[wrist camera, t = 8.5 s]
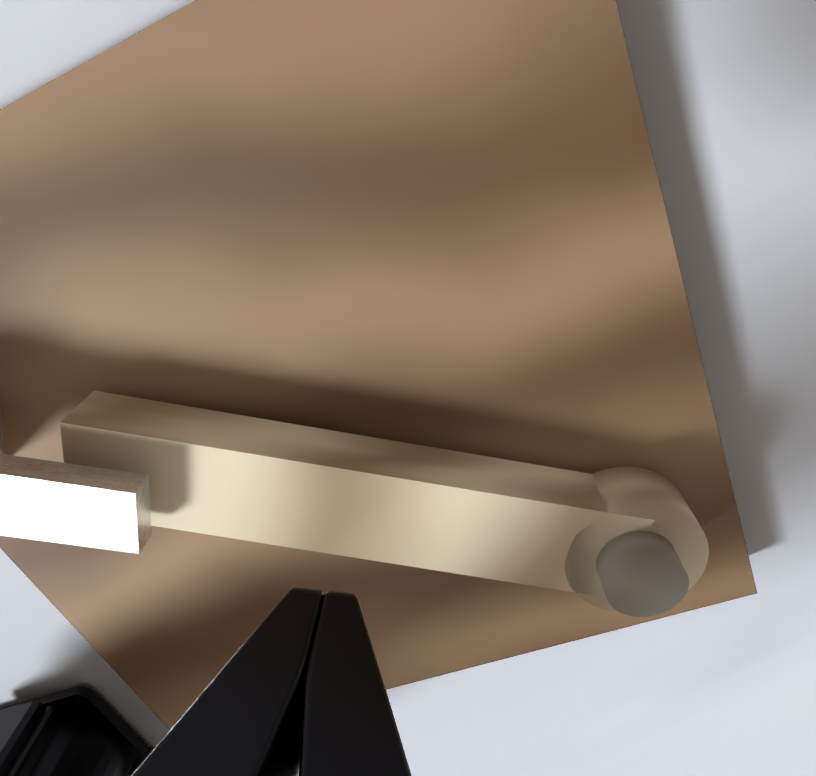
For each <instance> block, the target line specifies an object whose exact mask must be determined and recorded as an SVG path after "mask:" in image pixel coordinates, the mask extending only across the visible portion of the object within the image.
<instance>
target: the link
mask: <svg viewBox="0 0 816 776" xmlns="http://www.w3.org/2000/svg"><path fill="white" fill-rule="evenodd" d="M60 429H61V439H62V449H63V459H64V463H69V464H76V465H83V466H90V467H97V468H105V469H112V470H119V471H126V472H133V473H140V474H147V475H149V492H150V510H151V526H157V527H163V528H170V529H176V530H182V531H189V532H195V533H201V534H208V535H214V536H220V537H227V538H233V539H239V540H246V541H252V542H258V543H265V544H271V545H277V546H284V547H290V548H296V549H303V550H309V551H316V552H322V553H328V554H335V555H341V556H347V557H354V558H360V559H366V560H373V561H379V562H385V563H392V564H398V565H404V566H411V567H417V568H423V569H430V570H436V571H442V572H449V573H455V574H461V575H468V576H474V577H481V578H487V579H493V580H500V581H506V582H512V583H519V584H525V585H531V586H538V587H544V588H550V589H557V590H563V591H569V592H575V593H576V594H577V595H578V596H579V597H580V598H581V599H583V600H584V601H586V602H588V603H589V604H591V605H593V606H596V607H598V608H601V609H605V610H609V611H615V612H620V613H622V614H625V615H628V616H634V617H649V616H655V615H658V614H661V613H664V612H666V611H668V610H670V609H672V608H673V607H675V606H676V605H677V604H678V603H679V602H681V600H682V599H683V598H684V597H685V595H686V593H687V591H688V590H689V589H690V588H692V587H693V586H694V585H695V583H696V582H697V581H698V580H699V578H700V577H701V575H702V574H703V572H704V570H705V568H706V565H707V561H708V557H709V546H708V541H707V538H706V535H705V533H704V531H703V530H702V528H701V526H700V525H699V523H698V521H697V520H696V518H695V516H694V515H693V513H692V511H691V510H690V508H689V506H688V505H687V503H686V501H685V500H684V498H683V496H682V495H681V493H680V491H679V490H678V489H677V487H676V486H675V485H674V484H673V483H672V482H671V481H670V480H669V479H667V478H666V477H665V476H663V475H661V474H659V473H657V472H655V471H652V470H649V469H645V468H641V467H614V468H609V469H605V470H601V471H598V472H596V473H593V474H589V473H583V472H577V471H571V470H565V469H559V468H553V467H547V466H541V465H535V464H530V463H524V462H518V461H512V460H506V459H500V458H494V457H488V456H482V455H476V454H470V453H464V452H458V451H452V450H446V449H440V448H434V447H428V446H422V445H416V444H410V443H404V442H398V441H392V440H386V439H380V438H374V437H368V436H362V435H356V434H351V433H345V432H339V431H333V430H327V429H321V428H315V427H309V426H303V425H297V424H291V423H285V422H279V421H273V420H267V419H261V418H255V417H249V416H243V415H237V414H231V413H225V412H219V411H213V410H207V409H201V408H195V407H189V406H183V405H177V404H172V403H166V402H160V401H154V400H148V399H142V398H136V397H130V396H124V395H118V394H112V393H106V392H100V391H93V392H92V393H91V394H90V395H89V396H88V397H87V398H85V399H84V400H83V401H82V402H81V403H80V404H79V405H78V406H77V407H76V408H75V409H74V410H73V411H71V412H70V413H69V414H68V415H67V416H66V417H65V418H64V419H63V420H62V421H61V422H60Z"/></svg>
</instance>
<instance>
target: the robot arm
mask: <svg viewBox="0 0 816 776" xmlns="http://www.w3.org/2000/svg"><path fill="white" fill-rule="evenodd" d="M298 773H299V776H411V772H410V769H409V766H408V762H407V759H406V756H405V752H404V749H403V746H402V742H401V739H400V736H399V732H398V729H397V726H396V722H395V719H394V716H393V712H392V709H391V706H390V702H389V699H388V696H387V692H386V689H385V686H384V683H383V679H382V676H381V673H380V669H379V666H378V663H377V659H376V656H375V653H374V649H373V646H372V643H371V639H370V636H369V633H368V629H367V626H366V623H365V619H364V616H363V613H362V609H361V606H360V603H359V599H358V597H357V596H356V595H355V594H354V593H349V592H340V591H327V592H326V593H325V594H323V592H322V591H321V590H320V589H313V588H304V587H294V588H291V589H290V590H289V591H288V592H287V593H286V594H285V596H284V597H283V598H282V599H281V600H280V601H279V603H278V604H277V605H276V606H275V607H274V609H273V610H272V611H271V612H270V613H269V614H268V616H267V617H266V618H265V619H264V620H263V621H262V623H261V624H260V625H259V626H258V627H257V628H256V630H255V631H254V632H253V633H252V634H251V635H250V637H249V638H248V639H247V640H246V641H245V642H244V644H243V645H242V646H241V647H240V648H239V649H238V651H237V652H236V653H235V654H234V655H233V657H232V658H231V659H230V660H229V661H228V662H227V664H226V665H225V666H224V667H223V668H222V669H221V671H220V672H219V673H218V674H217V675H216V676H215V678H214V679H213V680H212V681H211V682H210V683H209V685H208V686H207V687H206V688H205V689H204V690H203V692H202V693H201V694H200V695H199V696H198V697H197V699H196V700H195V701H194V702H193V703H192V705H191V706H190V707H189V708H188V709H187V710H186V712H185V713H184V714H183V715H182V716H181V717H180V719H179V720H178V721H177V722H176V723H175V724H174V726H173V727H172V728H171V729H170V730H169V731H168V733H167V734H166V735H165V736H164V737H163V738H162V740H161V741H160V742H159V743H158V744H157V745H156V747H155V748H154V749H153V750H152V751H151V750H150V749H149V747H148V746H147V745H146V744H145V743H144V742H143V741H142V740H141V739H140V738H139V737H138V736H137V735H136V734H135V733H134V732H133V731H132V730H131V729H130V728H129V727H128V726H127V725H126V724H125V723H124V722H123V721H122V720H121V719H120V718H119V717H118V716H117V715H116V714H115V713H114V712H113V711H112V710H111V709H110V708H109V707H108V706H107V705H106V703H105V702H104V701H103V700H102V699H101V698H100V697H99V696H98V695H97V694H96V693H95V692H94V691H92V690H91V689H89V688H87V687H82V686H80V687H75V688H72V689H68V690H65V691H62V692H58V693H55V694H51V695H48V696H45V697H41V698H38V699H34V700H31V701H28V702H24V703H21V704H17V705H14V706H11V707H7V708H4V709H0V776H298Z"/></svg>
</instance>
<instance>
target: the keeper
mask: <svg viewBox="0 0 816 776" xmlns="http://www.w3.org/2000/svg"><path fill="white" fill-rule="evenodd" d="M151 534H152V528H151V510H150V492H149V475H147V474H140V473H133V472H126V471H119V470H112V469H105V468H97V467H90V466H83V465H76V464H69V463H62V462H55V461H48V460H41V459H34V458H27V457H20V456H13V455H8V451H7V445H6V440H5V434H4V428H3V423H2V417H1V412H0V535H4V536H11V537H18V538H25V539H33V540H40V541H47V542H55V543H62V544H69V545H76V546H84V547H91V548H98V549H106V550H113V551H120V552H127V553H135V554H140V552H141V551H142V549H143V547H144V546H145V544H146V543H147V541H148V539H149V538H150V536H151Z"/></svg>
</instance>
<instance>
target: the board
mask: <svg viewBox="0 0 816 776" xmlns="http://www.w3.org/2000/svg"><path fill="white" fill-rule="evenodd" d="M93 391H100V392H106V393H112V394H118V395H124V396H130V397H136V398H142V399H148V400H154V401H160V402H166V403H172V404H177V405H183V406H189V407H195V408H201V409H207V410H213V411H219V412H225V413H231V414H237V415H243V416H249V417H255V418H261V419H267V420H273V421H279V422H285V423H291V424H297V425H303V426H309V427H315V428H321V429H327V430H333V431H339V432H345V433H351V434H356V435H362V436H368V437H374V438H380V439H386V440H392V441H398V442H404V443H410V444H416V445H422V446H428V447H434V448H440V449H446V450H452V451H458V452H464V453H470V454H476V455H482V456H488V457H494V458H500V459H506V460H512V461H518V462H524V463H530V464H535V465H541V466H547V467H553V468H559V469H565V470H571V471H577V472H583V473H589V474H593V473H596V472H598V471H601V470H605V469H609V468H614V467H641V468H645V469H649V470H652V471H655V472H657V473H659V474H661V475H663V476H665V477H666V478H667V479H669V480H670V481H671V482H672V483H673V484H674V485H675V486H676V487H677V489H678V490H679V491H680V493H681V495H682V496H683V498H684V500H685V501H686V503H687V505H688V506H689V508H690V510H691V511H692V513H693V515H694V516H695V518H696V520H697V521H698V523H699V525H700V526H701V528H702V530H703V531H704V533H705V535H706V538H707V541H708V546H709V557H708V561H707V565H706V568H705V570H704V572H703V574H702V575H701V577H700V578H699V580H698V581H697V582H696V583H695V585H694V586H693V587H692V588H690V589H689V590H688V591H687V593H686V595H685V597H684V598H683V599H682V600H681V602H679V603H678V604H677V605H676V606H675V607H673V608H672V609H670V610H668V611H666V612H664V613H661V614H658V615H655V616H649V617H634V616H628V615H625V614H622V613H620V612H615V611H609V610H605V609H601V608H598V607H596V606H593V605H591V604H589V603H588V602H586V601H584V600H583V599H581V598H580V597H579V596H578V595H577V594H576V593H575V592H569V591H563V590H557V589H550V588H544V587H538V586H531V585H525V584H519V583H512V582H506V581H500V580H493V579H487V578H481V577H474V576H468V575H461V574H455V573H449V572H442V571H436V570H430V569H423V568H417V567H411V566H404V565H398V564H392V563H385V562H379V561H373V560H366V559H360V558H354V557H347V556H341V555H335V554H328V553H322V552H316V551H309V550H303V549H296V548H290V547H284V546H277V545H271V544H265V543H258V542H252V541H246V540H239V539H233V538H227V537H220V536H214V535H208V534H201V533H195V532H189V531H182V530H176V529H170V528H163V527H157V526H151V528H152V534H151V536H150V538H149V539H148V541H147V543H146V544H145V546H144V547H143V549H142V551H141V552H140V554H135V553H127V552H120V551H113V550H106V549H98V548H91V547H84V546H76V545H69V544H62V543H55V542H47V541H40V540H33V539H25V538H18V537H11V536H4V535H0V548H1V549H2V550H3V551H4V552H5V553H6V555H7V556H8V557H9V558H10V559H11V560H12V561H13V562H14V563H15V564H16V565H17V566H18V567H19V568H20V570H21V571H22V572H23V573H24V574H25V575H26V576H27V577H28V578H29V579H30V580H31V581H32V582H33V583H34V584H35V586H36V587H37V588H38V589H39V590H40V591H41V592H42V593H43V594H44V595H45V596H46V597H47V598H48V599H49V601H50V602H51V603H52V604H53V605H54V606H55V607H56V608H57V609H58V610H59V611H60V612H61V613H62V614H63V616H64V617H65V618H66V619H67V620H68V621H69V622H70V623H71V624H72V625H73V626H74V627H75V628H76V629H77V631H78V632H79V633H80V634H81V635H82V636H83V637H84V638H85V639H86V640H87V641H88V642H89V643H90V644H91V646H92V647H93V648H94V649H95V650H96V651H97V652H98V653H99V654H100V655H101V656H102V657H103V658H104V659H105V661H106V662H107V663H108V664H109V665H110V666H111V667H112V668H113V669H114V670H115V671H116V672H117V673H118V674H119V676H120V677H121V678H122V679H123V680H124V681H125V682H126V683H127V684H128V685H129V686H130V687H131V688H132V689H133V691H134V692H135V693H136V694H137V695H138V696H139V697H140V698H141V699H142V700H143V701H144V702H145V703H146V704H147V706H148V707H149V708H150V709H151V710H152V711H153V712H154V713H155V714H156V715H157V716H158V717H159V718H160V719H161V721H162V722H163V723H164V724H165V725H166V726H167V727H168V728H169V729H171V728H172V727H173V726H174V724H175V723H176V722H177V721H178V720H179V719H180V717H181V716H182V715H183V714H184V713H185V712H186V710H187V709H188V708H189V707H190V706H191V705H192V703H193V702H194V701H195V700H196V699H197V697H198V696H199V695H200V694H201V693H202V692H203V690H204V689H205V688H206V687H207V686H208V685H209V683H210V682H211V681H212V680H213V679H214V678H215V676H216V675H217V674H218V673H219V672H220V671H221V669H222V668H223V667H224V666H225V665H226V664H227V662H228V661H229V660H230V659H231V658H232V657H233V655H234V654H235V653H236V652H237V651H238V649H239V648H240V647H241V646H242V645H243V644H244V642H245V641H246V640H247V639H248V638H249V637H250V635H251V634H252V633H253V632H254V631H255V630H256V628H257V627H258V626H259V625H260V624H261V623H262V621H263V620H264V619H265V618H266V617H267V616H268V614H269V613H270V612H271V611H272V610H273V609H274V607H275V606H276V605H277V604H278V603H279V601H280V600H281V599H282V598H283V597H284V596H285V594H286V593H287V592H288V591H289V590H290V589H291V588H294V587H304V588H313V589H320V590H321V591H322V592H323V594H325V593H326V592H327V591H340V592H349V593H354V594H355V595H356V596H357V597H358V599H359V603H360V606H361V609H362V613H363V616H364V619H365V623H366V626H367V629H368V633H369V636H370V639H371V643H372V646H373V649H374V653H375V656H376V659H377V663H378V666H379V669H380V673H381V676H382V679H383V683H384V686H385V689H390V688H394V687H397V686H401V685H405V684H409V683H413V682H417V681H421V680H424V679H428V678H432V677H436V676H440V675H444V674H448V673H451V672H455V671H459V670H463V669H467V668H471V667H475V666H478V665H482V664H486V663H490V662H494V661H498V660H502V659H505V658H509V657H513V656H517V655H521V654H525V653H529V652H532V651H536V650H540V649H544V648H548V647H552V646H556V645H559V644H563V643H567V642H571V641H575V640H579V639H583V638H586V637H590V636H594V635H598V634H602V633H606V632H610V631H613V630H617V629H621V628H625V627H629V626H633V625H637V624H640V623H644V622H648V621H652V620H656V619H660V618H663V617H667V616H671V615H675V614H679V613H683V612H687V611H690V610H694V609H698V608H702V607H706V606H710V605H714V604H717V603H721V602H725V601H729V600H733V599H737V598H741V597H744V596H748V595H752V594H756V593H757V590H756V586H755V582H754V577H753V573H752V569H751V565H750V561H749V556H748V552H747V548H746V544H745V540H744V536H743V531H742V527H741V523H740V519H739V515H738V510H737V506H736V502H735V498H734V494H733V489H732V485H731V481H730V477H729V473H728V469H727V464H726V460H725V456H724V452H723V448H722V443H721V439H720V435H719V431H718V427H717V422H716V418H715V414H714V410H713V406H712V402H711V397H710V393H709V389H708V385H707V381H706V376H705V372H704V368H703V364H702V360H701V355H700V351H699V347H698V343H697V339H696V335H695V330H694V326H693V322H692V318H691V314H690V309H689V305H688V301H687V297H686V293H685V288H684V284H683V280H682V276H681V272H680V268H679V263H678V259H677V255H676V251H675V247H674V242H673V238H672V234H671V230H670V226H669V221H668V217H667V213H666V209H665V205H664V201H663V196H662V192H661V188H660V184H659V180H658V175H657V171H656V167H655V163H654V159H653V154H652V150H651V146H650V142H649V138H648V134H647V129H646V125H645V121H644V117H643V113H642V108H641V104H640V100H639V96H638V92H637V87H636V83H635V79H634V75H633V71H632V67H631V62H630V58H629V54H628V50H627V46H626V41H625V37H624V33H623V29H622V25H621V20H620V16H619V12H618V8H617V4H616V0H196V1H194V2H192V3H191V4H189V5H187V6H185V7H183V8H182V9H180V10H178V11H176V12H175V13H173V14H171V15H169V16H167V17H166V18H164V19H162V20H160V21H158V22H157V23H155V24H153V25H151V26H149V27H148V28H146V29H144V30H142V31H141V32H139V33H137V34H135V35H133V36H132V37H130V38H128V39H126V40H124V41H123V42H121V43H119V44H117V45H116V46H114V47H112V48H110V49H108V50H107V51H105V52H103V53H101V54H99V55H98V56H96V57H94V58H92V59H91V60H89V61H87V62H85V63H83V64H82V65H80V66H78V67H76V68H74V69H73V70H71V71H69V72H67V73H66V74H64V75H62V76H60V77H58V78H57V79H55V80H53V81H51V82H49V83H48V84H46V85H44V86H42V87H41V88H39V89H37V90H35V91H33V92H32V93H30V94H28V95H26V96H24V97H23V98H21V99H19V100H17V101H15V102H14V103H12V104H10V105H8V106H7V107H5V108H3V109H1V110H0V412H1V417H2V423H3V428H4V434H5V440H6V445H7V451H8V455H13V456H20V457H27V458H34V459H41V460H48V461H55V462H62V463H64V459H63V449H62V439H61V429H60V422H61V421H62V420H63V419H64V418H65V417H66V416H67V415H68V414H69V413H70V412H71V411H73V410H74V409H75V408H76V407H77V406H78V405H79V404H80V403H81V402H82V401H83V400H84V399H85V398H87V397H88V396H89V395H90V394H91V393H92V392H93Z"/></svg>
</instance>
